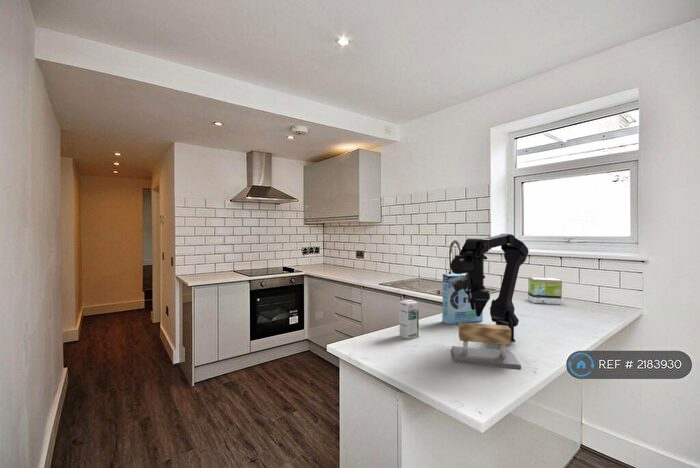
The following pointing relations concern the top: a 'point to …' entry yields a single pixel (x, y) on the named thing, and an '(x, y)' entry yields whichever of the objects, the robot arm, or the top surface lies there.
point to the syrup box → (409, 319)
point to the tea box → (544, 290)
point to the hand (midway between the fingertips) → (475, 313)
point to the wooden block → (485, 333)
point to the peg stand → (485, 356)
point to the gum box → (456, 303)
